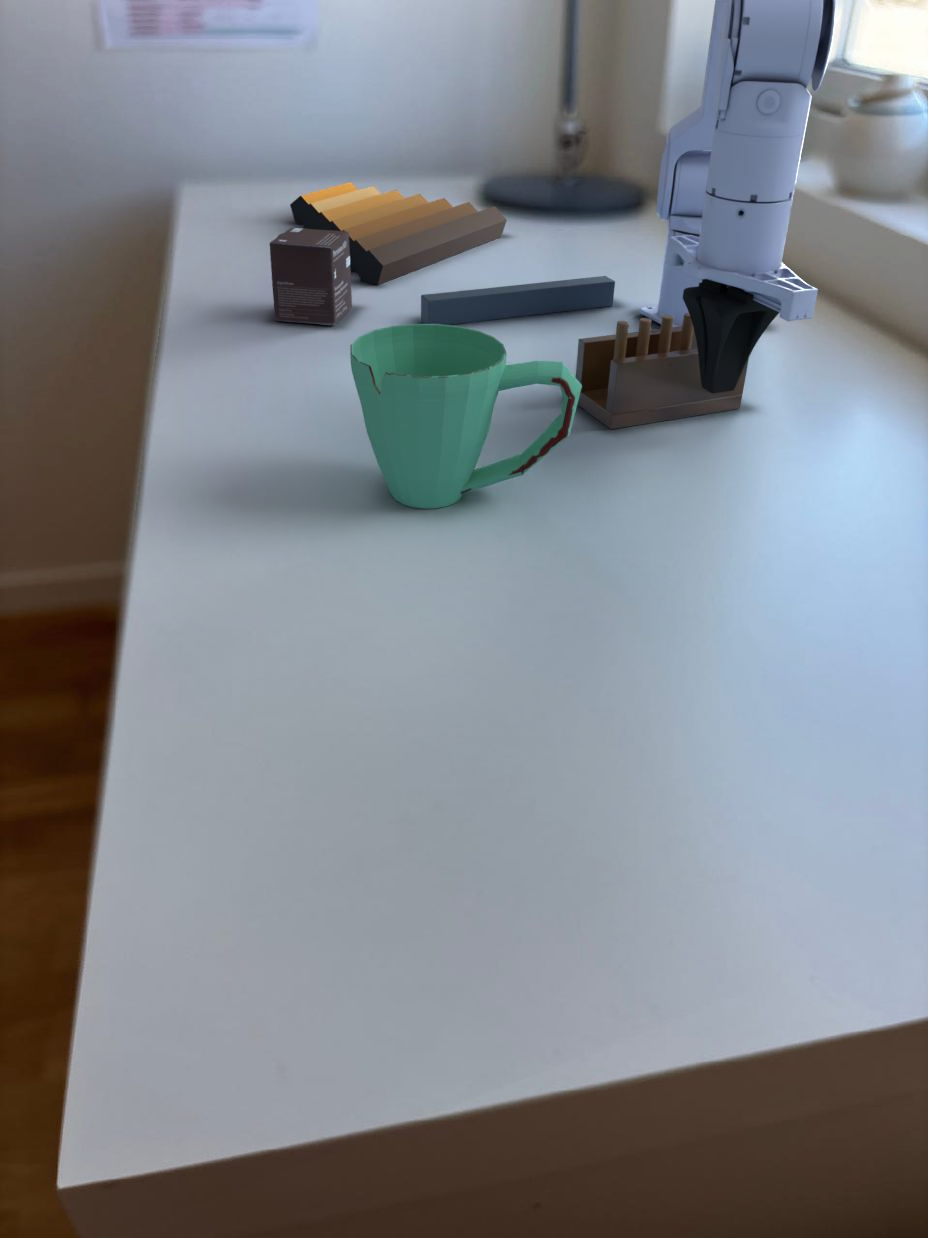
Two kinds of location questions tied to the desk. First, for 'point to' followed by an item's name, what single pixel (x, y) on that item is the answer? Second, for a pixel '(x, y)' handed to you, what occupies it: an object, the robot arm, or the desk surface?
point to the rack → (647, 375)
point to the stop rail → (516, 300)
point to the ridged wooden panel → (396, 228)
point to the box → (311, 276)
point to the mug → (445, 408)
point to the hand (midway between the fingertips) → (718, 388)
